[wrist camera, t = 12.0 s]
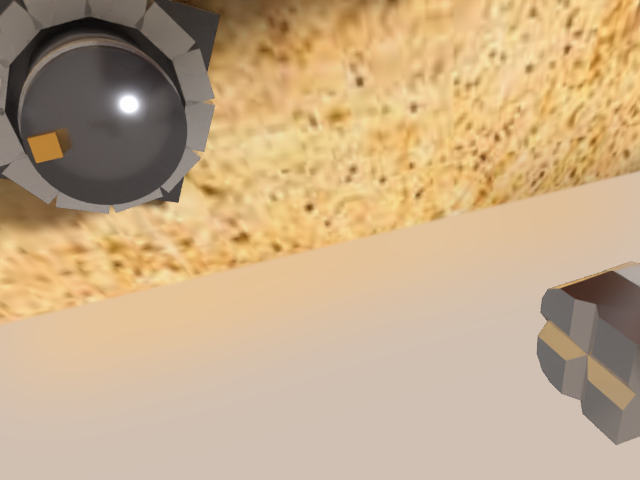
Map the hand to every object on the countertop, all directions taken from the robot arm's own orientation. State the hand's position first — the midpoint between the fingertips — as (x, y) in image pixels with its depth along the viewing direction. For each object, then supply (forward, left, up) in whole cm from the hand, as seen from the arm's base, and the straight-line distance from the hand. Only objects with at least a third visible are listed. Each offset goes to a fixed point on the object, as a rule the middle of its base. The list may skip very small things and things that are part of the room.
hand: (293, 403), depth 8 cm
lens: (+1, +1, -22) cm, 22 cm away
